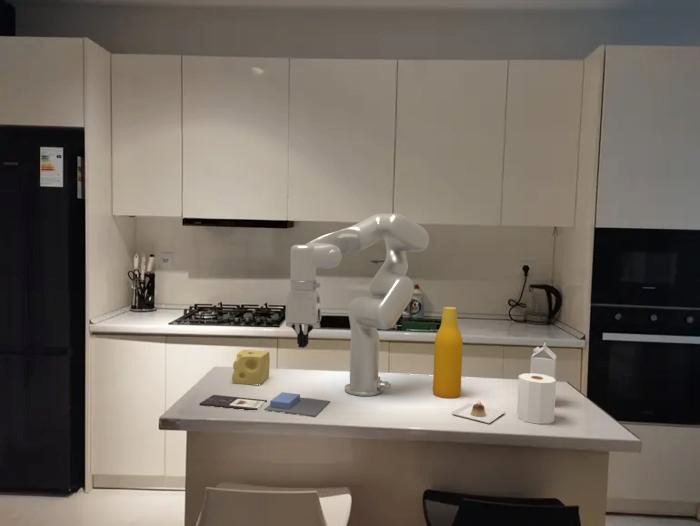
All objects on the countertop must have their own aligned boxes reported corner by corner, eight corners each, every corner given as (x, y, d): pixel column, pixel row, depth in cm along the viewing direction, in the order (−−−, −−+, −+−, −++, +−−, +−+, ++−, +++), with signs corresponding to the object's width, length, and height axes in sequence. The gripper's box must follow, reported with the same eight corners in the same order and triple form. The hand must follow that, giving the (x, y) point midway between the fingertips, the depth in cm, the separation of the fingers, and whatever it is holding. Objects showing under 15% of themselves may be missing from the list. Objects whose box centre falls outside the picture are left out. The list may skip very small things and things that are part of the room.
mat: (330, 402, 166) (330, 400, 166) (315, 416, 153) (315, 415, 153) (282, 396, 170) (282, 395, 170) (263, 410, 157) (263, 409, 157)
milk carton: (554, 401, 173) (557, 343, 172) (552, 407, 167) (555, 347, 165) (531, 397, 176) (533, 340, 175) (528, 403, 170) (531, 344, 168)
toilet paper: (550, 413, 161) (552, 374, 160) (556, 426, 151) (558, 383, 150) (515, 410, 163) (517, 371, 162) (518, 422, 153) (520, 380, 152)
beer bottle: (452, 389, 183) (455, 305, 181) (466, 397, 174) (469, 309, 173) (427, 391, 180) (430, 306, 178) (440, 399, 171) (444, 310, 170)
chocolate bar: (213, 394, 169) (266, 400, 165) (213, 397, 169) (266, 403, 165) (199, 403, 160) (255, 409, 156) (199, 406, 160) (255, 412, 156)
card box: (289, 403, 157) (270, 400, 159) (288, 409, 157) (270, 407, 159) (300, 394, 166) (282, 392, 167) (299, 400, 166) (282, 398, 167)
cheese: (231, 383, 183) (232, 355, 182) (243, 375, 193) (243, 348, 193) (260, 386, 181) (261, 357, 181) (270, 377, 192) (271, 350, 191)
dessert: (489, 426, 150) (490, 410, 150) (450, 416, 157) (451, 400, 157) (505, 415, 160) (506, 400, 159) (468, 406, 167) (468, 391, 167)
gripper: (330, 285, 161) (330, 345, 162) (284, 283, 165) (284, 342, 166) (322, 288, 153) (322, 351, 155) (274, 286, 157) (274, 347, 159)
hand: (302, 346), depth 160 cm, fingers closed
